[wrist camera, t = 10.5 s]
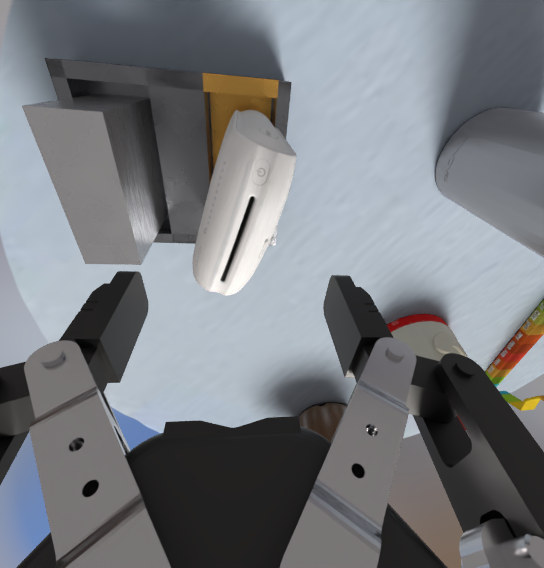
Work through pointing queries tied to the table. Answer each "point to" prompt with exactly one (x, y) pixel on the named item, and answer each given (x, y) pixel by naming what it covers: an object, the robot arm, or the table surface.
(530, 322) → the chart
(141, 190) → the rack
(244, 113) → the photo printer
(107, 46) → the table surface
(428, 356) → the kitchen timer
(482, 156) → the robot arm
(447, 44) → the table surface
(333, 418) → the plant pot
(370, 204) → the table surface
